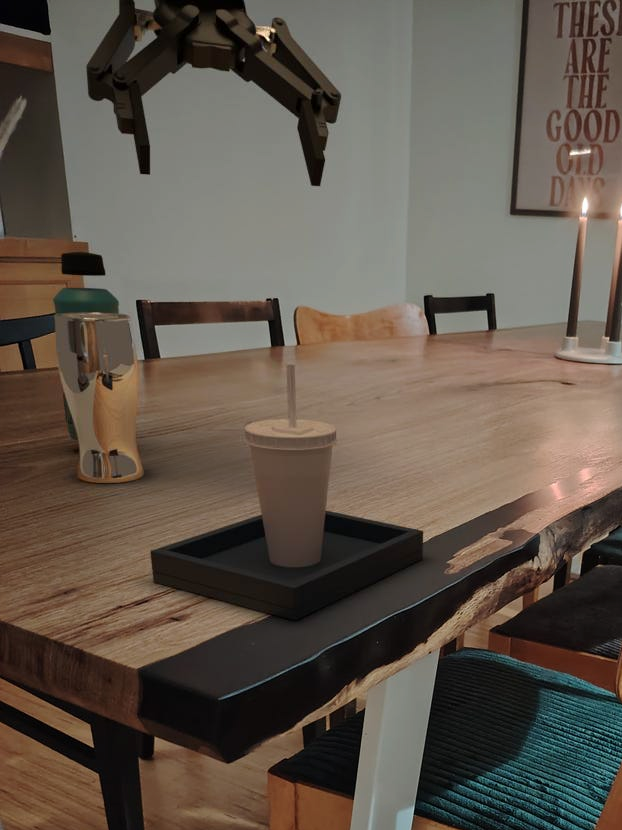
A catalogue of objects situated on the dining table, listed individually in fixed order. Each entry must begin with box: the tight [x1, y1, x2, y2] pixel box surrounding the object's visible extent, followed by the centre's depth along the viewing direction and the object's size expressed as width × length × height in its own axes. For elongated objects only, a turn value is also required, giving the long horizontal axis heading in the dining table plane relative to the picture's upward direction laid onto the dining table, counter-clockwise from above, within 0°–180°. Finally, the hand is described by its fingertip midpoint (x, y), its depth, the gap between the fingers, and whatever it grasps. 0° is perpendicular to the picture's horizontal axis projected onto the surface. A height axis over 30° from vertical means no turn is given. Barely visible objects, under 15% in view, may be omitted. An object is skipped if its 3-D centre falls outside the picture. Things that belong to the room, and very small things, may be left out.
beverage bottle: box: [52, 251, 120, 441], centre depth 97 cm, size 6×7×20 cm
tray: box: [150, 510, 424, 622], centre depth 68 cm, size 16×13×2 cm
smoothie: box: [243, 363, 338, 567], centre depth 65 cm, size 6×6×14 cm
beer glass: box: [53, 312, 145, 484], centre depth 88 cm, size 7×7×15 cm
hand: (234, 167), depth 74 cm, fingers open, 13 cm apart
